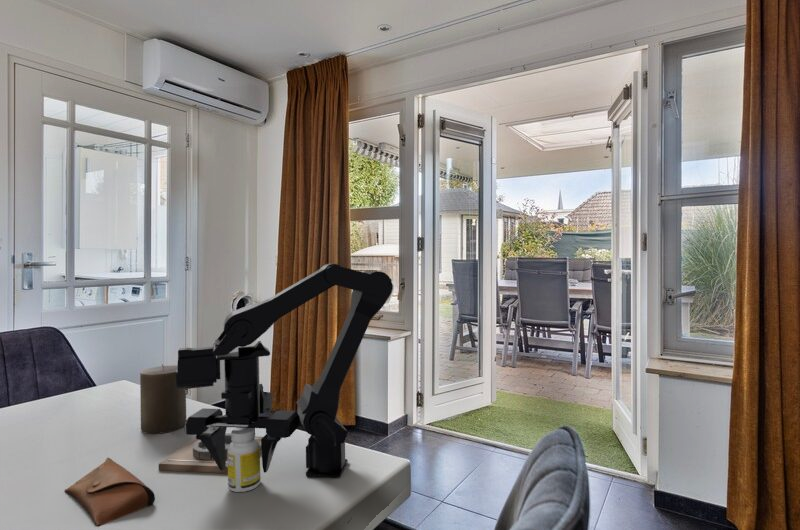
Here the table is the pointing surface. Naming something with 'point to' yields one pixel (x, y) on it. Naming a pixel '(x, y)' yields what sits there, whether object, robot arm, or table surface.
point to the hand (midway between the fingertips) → (244, 470)
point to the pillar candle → (161, 400)
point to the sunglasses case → (111, 492)
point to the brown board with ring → (196, 457)
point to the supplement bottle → (243, 460)
